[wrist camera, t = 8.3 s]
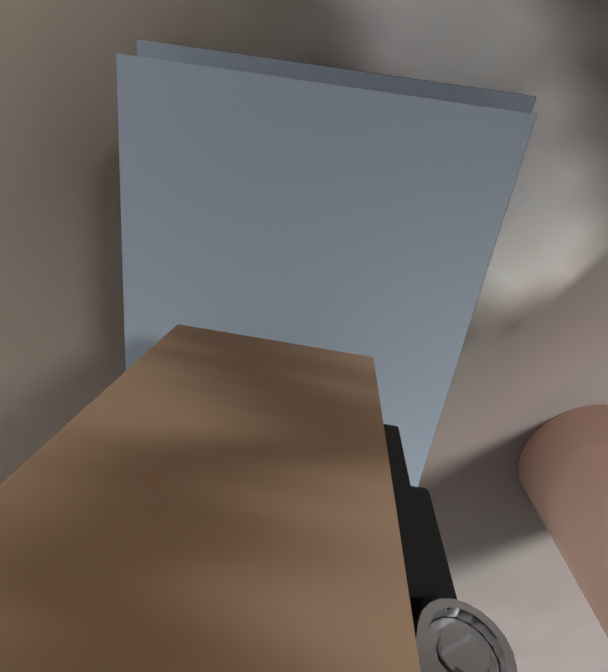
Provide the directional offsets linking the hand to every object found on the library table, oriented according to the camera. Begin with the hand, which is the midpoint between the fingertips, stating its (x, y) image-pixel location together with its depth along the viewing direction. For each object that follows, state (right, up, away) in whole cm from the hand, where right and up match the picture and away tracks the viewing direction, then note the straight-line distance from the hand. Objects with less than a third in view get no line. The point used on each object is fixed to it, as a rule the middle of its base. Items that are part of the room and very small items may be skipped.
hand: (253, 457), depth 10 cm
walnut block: (0, +1, +1) cm, 2 cm away
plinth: (+1, +3, +8) cm, 8 cm away
